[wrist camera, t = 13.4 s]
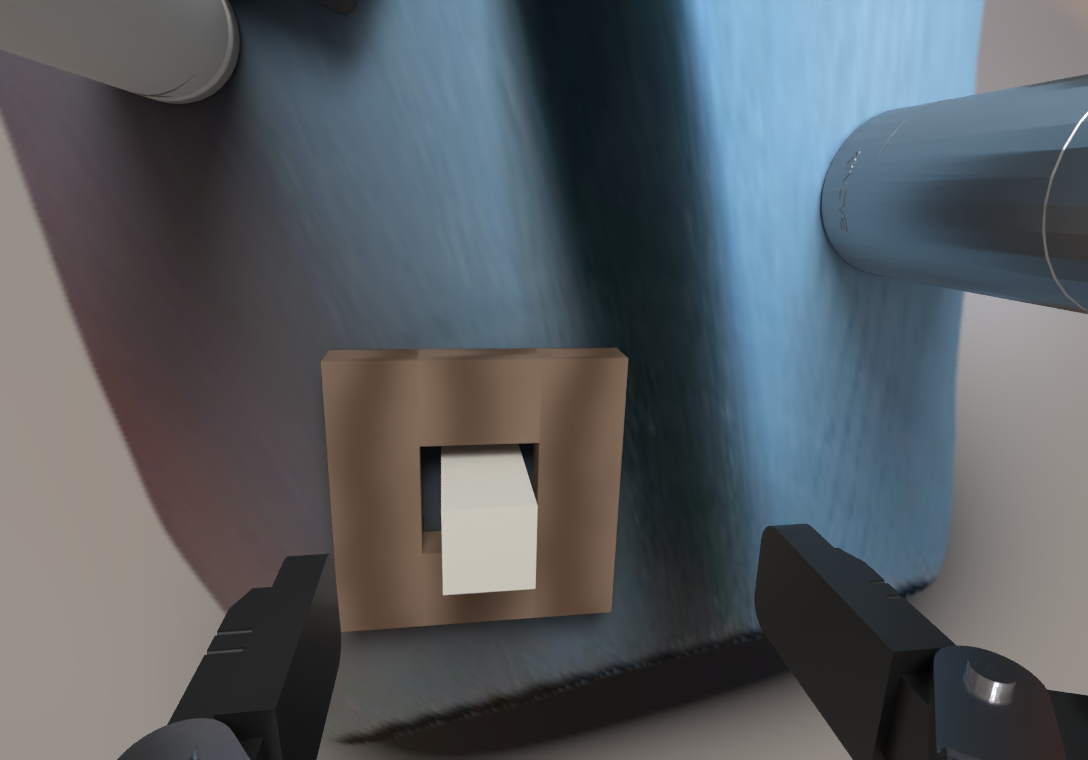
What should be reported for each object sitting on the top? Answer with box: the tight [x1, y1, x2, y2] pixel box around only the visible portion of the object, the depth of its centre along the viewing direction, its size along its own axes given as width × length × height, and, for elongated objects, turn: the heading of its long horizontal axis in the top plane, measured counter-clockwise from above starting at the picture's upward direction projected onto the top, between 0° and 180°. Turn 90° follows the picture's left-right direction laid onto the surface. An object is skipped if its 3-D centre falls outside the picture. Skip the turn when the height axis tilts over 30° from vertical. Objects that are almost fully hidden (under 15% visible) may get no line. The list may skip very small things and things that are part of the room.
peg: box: [441, 444, 538, 595], centre depth 34 cm, size 4×4×8 cm
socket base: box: [321, 348, 628, 632], centre depth 37 cm, size 16×16×2 cm
